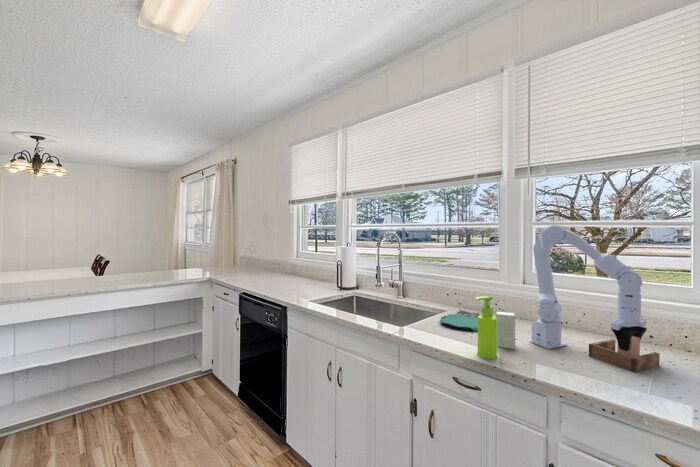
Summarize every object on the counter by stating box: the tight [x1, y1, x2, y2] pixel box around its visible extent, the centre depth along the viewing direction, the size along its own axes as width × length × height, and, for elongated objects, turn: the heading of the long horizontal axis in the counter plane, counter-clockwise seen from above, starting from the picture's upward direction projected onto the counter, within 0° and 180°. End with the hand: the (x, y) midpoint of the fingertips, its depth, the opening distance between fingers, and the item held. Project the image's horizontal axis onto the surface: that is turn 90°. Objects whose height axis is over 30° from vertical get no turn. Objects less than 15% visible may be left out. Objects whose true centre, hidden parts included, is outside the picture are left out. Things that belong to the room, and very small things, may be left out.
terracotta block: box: [616, 336, 641, 357], centre depth 102 cm, size 4×4×6 cm
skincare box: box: [495, 311, 516, 350], centre depth 114 cm, size 6×4×12 cm
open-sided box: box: [588, 338, 660, 373], centre depth 101 cm, size 12×13×4 cm
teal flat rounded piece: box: [439, 309, 482, 333], centre depth 144 cm, size 20×30×2 cm, turn 142°
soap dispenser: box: [474, 295, 498, 360], centre depth 106 cm, size 6×7×20 cm
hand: (628, 348), depth 102 cm, fingers closed on terracotta block, 4 cm apart
